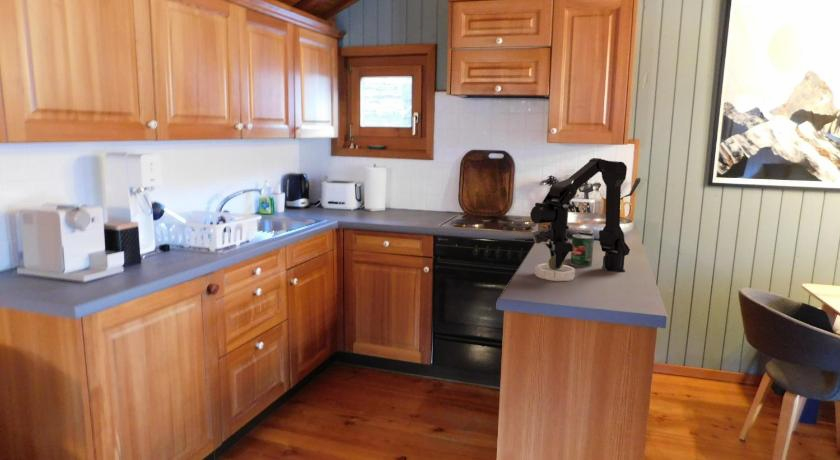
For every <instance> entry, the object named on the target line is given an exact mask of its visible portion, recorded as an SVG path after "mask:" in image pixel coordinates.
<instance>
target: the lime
mask: <svg viewBox="0 0 840 460" xmlns="http://www.w3.org/2000/svg"><path fill="white" fill-rule="evenodd" d="M548 264H549V268H550V269H552V270H558V269H556V265H555V255H554V256H552V257H551V256H550V258H549V260H548ZM562 265H564V262H563V263H562V264H561V266H560V268H561V267H562ZM560 268H559V269H560Z"/></svg>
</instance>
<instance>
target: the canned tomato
mask: <svg viewBox="0 0 840 460" xmlns="http://www.w3.org/2000/svg"><path fill="white" fill-rule="evenodd" d="M571 237H572V239H571V244H572V245H573V246H574V247H573V251H572V252H570V253H571V254H570V265H572V266H575V267H580V268H581V267H582V268H590V267H592V266H593V254H594V242H595V241H594V240H595V237H594V235H593V236H590V235H582V234H578V233H577V234H572V236H571Z"/></svg>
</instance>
